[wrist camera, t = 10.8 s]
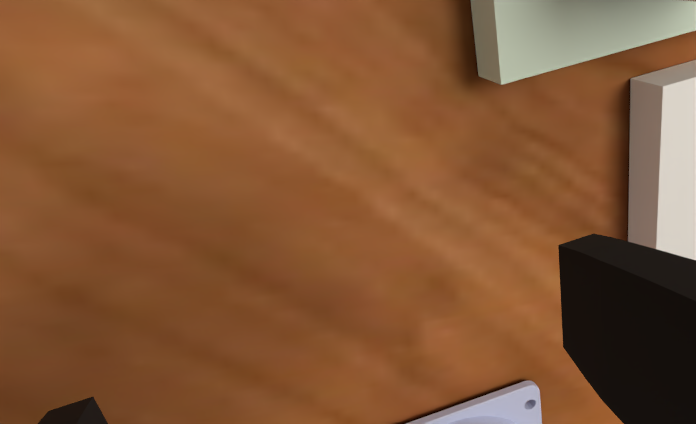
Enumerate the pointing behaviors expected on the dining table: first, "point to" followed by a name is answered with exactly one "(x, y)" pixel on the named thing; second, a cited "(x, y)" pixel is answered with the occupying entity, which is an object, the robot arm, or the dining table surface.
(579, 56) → the stand
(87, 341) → the dining table surface
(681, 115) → the stand
